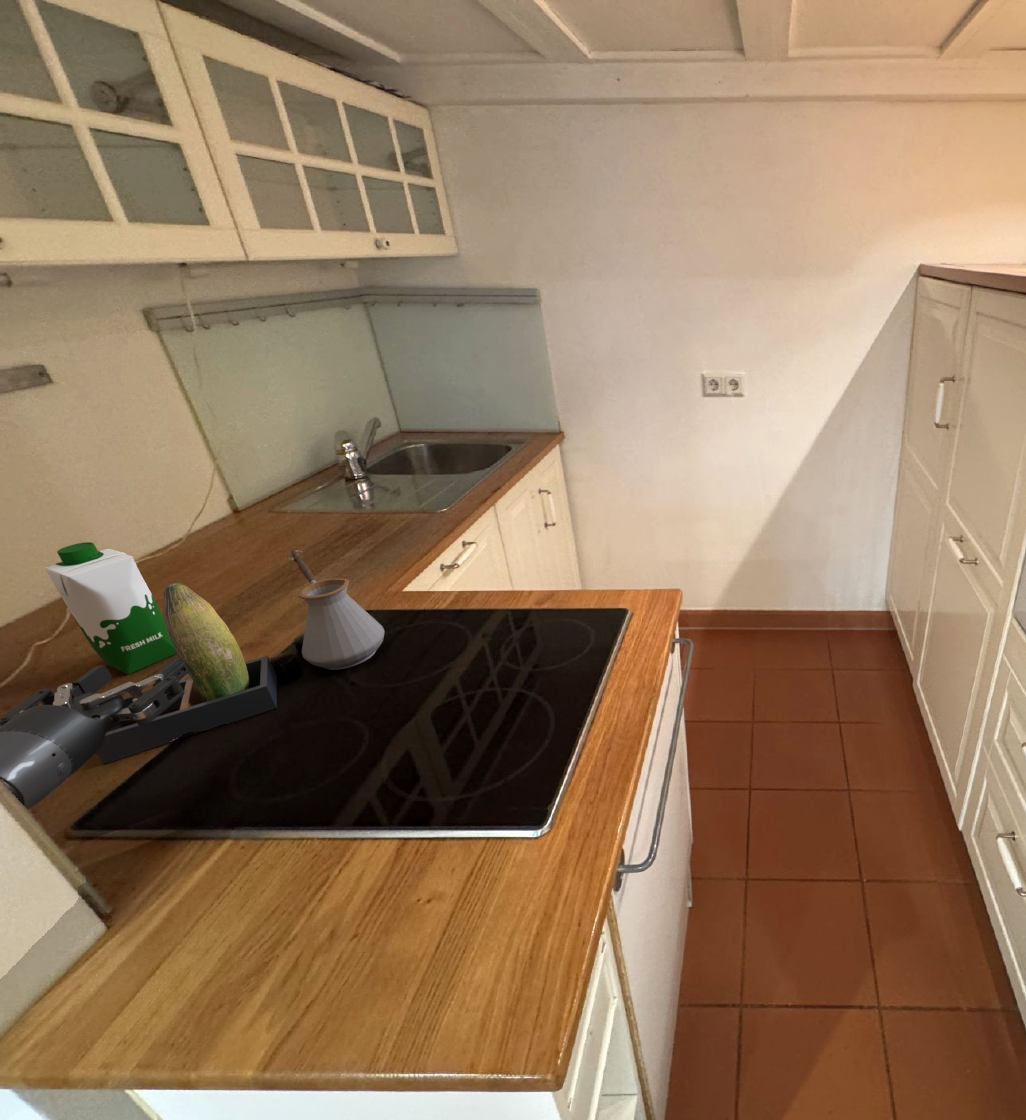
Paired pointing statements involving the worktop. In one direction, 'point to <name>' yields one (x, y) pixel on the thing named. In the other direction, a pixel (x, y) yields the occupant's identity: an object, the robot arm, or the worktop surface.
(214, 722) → the divided tray
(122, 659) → the milk carton
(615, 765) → the worktop surface
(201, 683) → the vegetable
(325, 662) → the coffee pot
